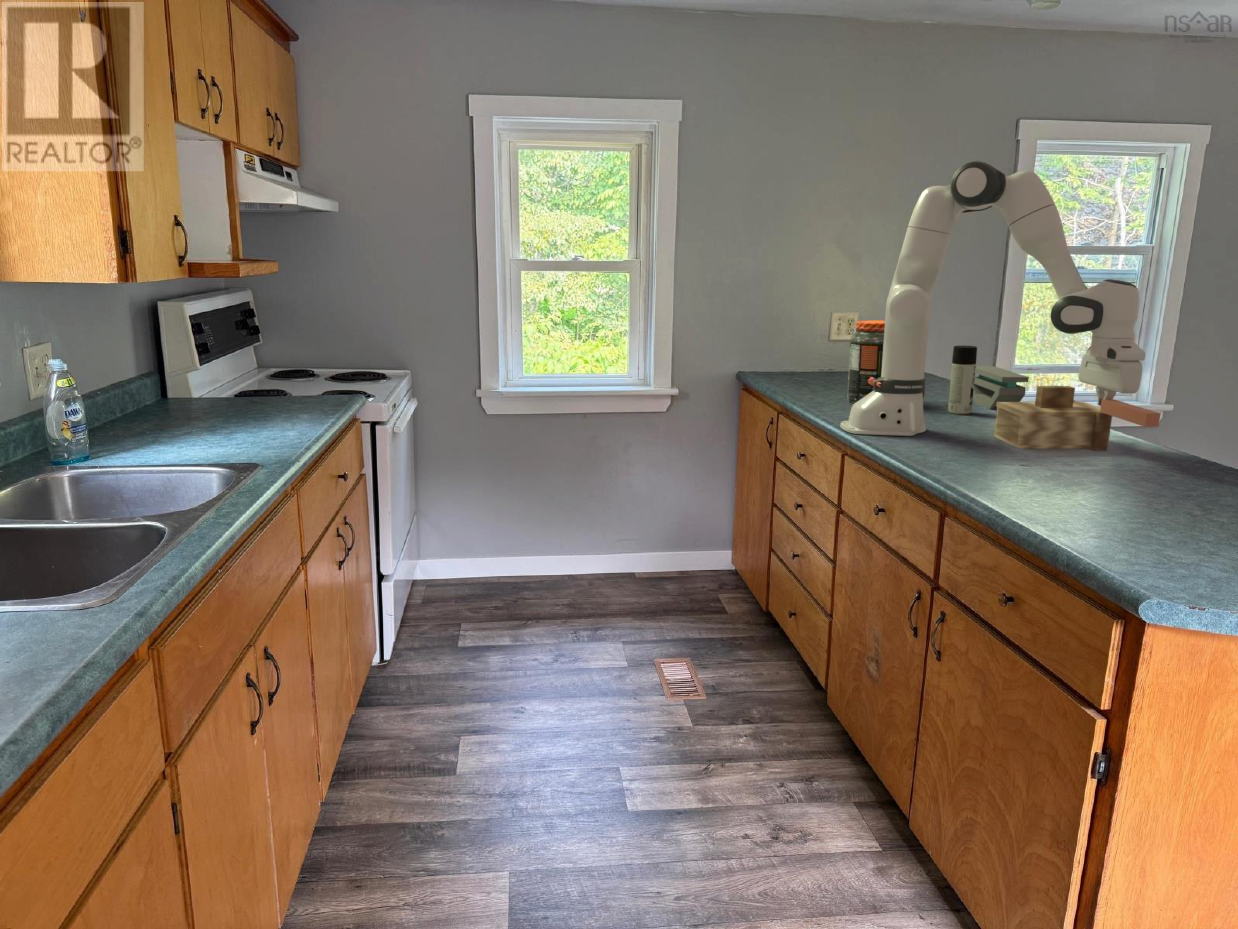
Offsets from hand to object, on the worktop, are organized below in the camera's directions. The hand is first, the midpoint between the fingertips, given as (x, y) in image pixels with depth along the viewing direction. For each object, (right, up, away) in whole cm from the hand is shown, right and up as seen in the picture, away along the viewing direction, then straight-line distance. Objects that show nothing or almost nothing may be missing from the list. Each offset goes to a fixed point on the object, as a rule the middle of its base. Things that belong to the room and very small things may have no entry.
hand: (1103, 406), depth 205 cm
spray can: (-15, +1, +50) cm, 52 cm away
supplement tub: (-36, +6, +69) cm, 78 cm away
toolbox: (-8, -8, +10) cm, 16 cm away
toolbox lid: (-8, -2, +9) cm, 12 cm away
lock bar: (0, -4, -10) cm, 11 cm away
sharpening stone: (+1, +4, +62) cm, 62 cm away
